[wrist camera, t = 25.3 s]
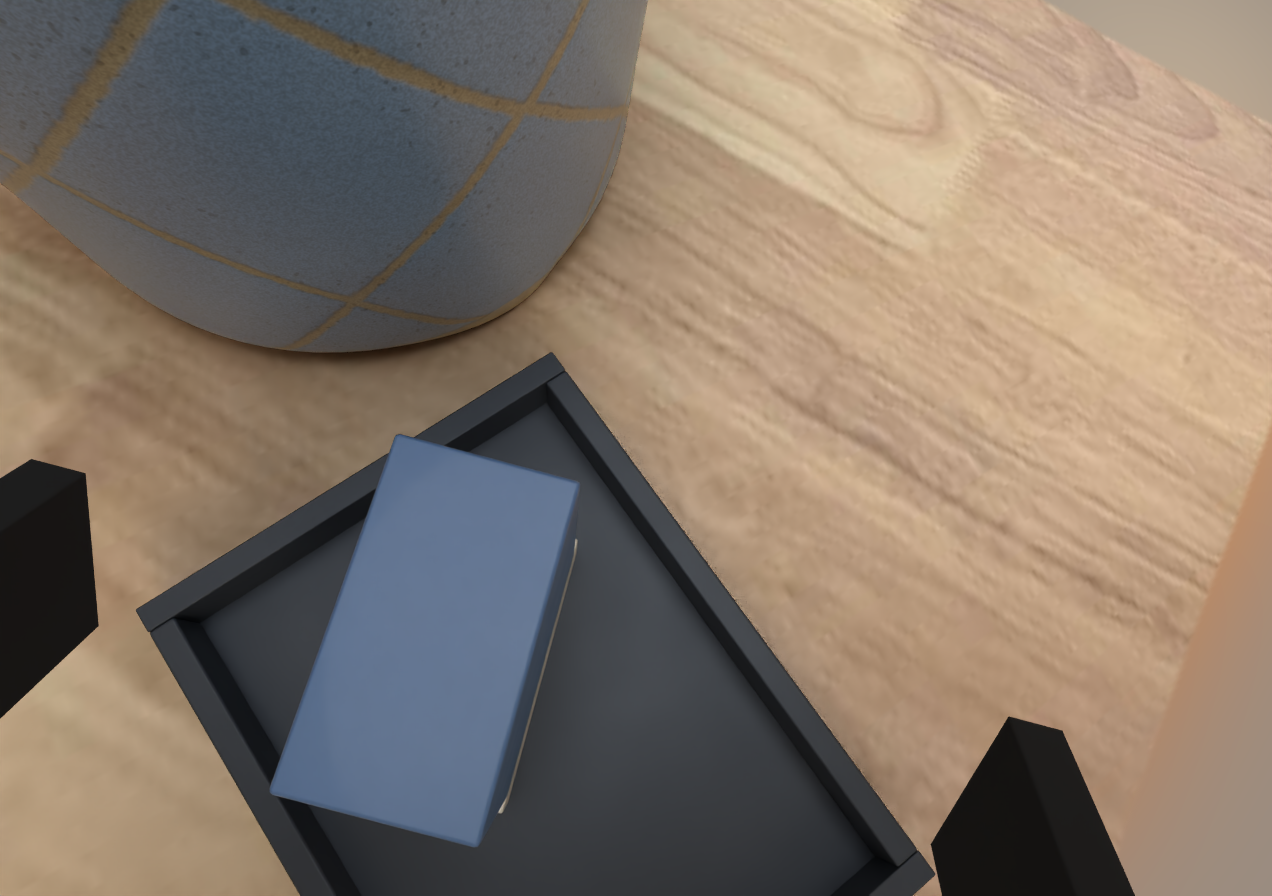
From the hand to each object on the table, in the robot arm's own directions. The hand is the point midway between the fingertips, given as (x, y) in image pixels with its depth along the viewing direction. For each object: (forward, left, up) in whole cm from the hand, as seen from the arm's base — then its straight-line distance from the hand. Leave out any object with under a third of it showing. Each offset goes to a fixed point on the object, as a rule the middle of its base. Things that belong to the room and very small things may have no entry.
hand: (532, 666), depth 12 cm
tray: (-1, +1, -16) cm, 16 cm away
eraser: (+2, +1, -16) cm, 16 cm away
